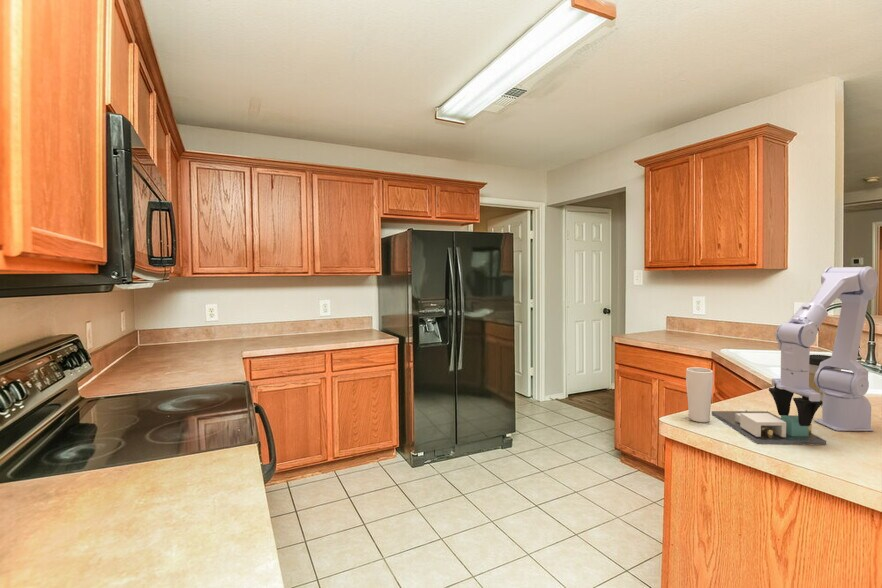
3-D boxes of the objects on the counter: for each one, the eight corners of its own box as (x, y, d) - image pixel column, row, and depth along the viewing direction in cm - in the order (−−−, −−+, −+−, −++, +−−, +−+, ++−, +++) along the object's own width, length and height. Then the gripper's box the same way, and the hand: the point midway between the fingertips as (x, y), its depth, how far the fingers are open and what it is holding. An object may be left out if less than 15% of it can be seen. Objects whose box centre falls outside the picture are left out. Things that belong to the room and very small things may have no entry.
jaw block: (796, 430, 113) (797, 415, 113) (808, 436, 109) (808, 420, 109) (780, 430, 114) (781, 415, 113) (791, 435, 110) (792, 420, 109)
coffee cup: (838, 401, 138) (839, 355, 137) (846, 410, 130) (847, 361, 129) (798, 397, 144) (799, 353, 143) (804, 405, 135) (805, 358, 134)
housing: (755, 420, 120) (756, 407, 120) (785, 437, 108) (786, 422, 108) (729, 420, 121) (729, 407, 121) (756, 436, 109) (756, 422, 109)
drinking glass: (716, 424, 121) (717, 372, 120) (690, 423, 123) (691, 372, 122) (707, 416, 128) (707, 367, 127) (682, 415, 129) (682, 366, 128)
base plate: (767, 414, 128) (767, 403, 128) (826, 444, 106) (826, 431, 106) (711, 414, 130) (711, 403, 129) (757, 443, 108) (758, 430, 108)
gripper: (760, 362, 118) (759, 410, 119) (798, 376, 104) (797, 430, 105) (787, 362, 118) (786, 410, 118) (830, 376, 103) (828, 430, 104)
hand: (793, 420), depth 112 cm, fingers open, 7 cm apart
